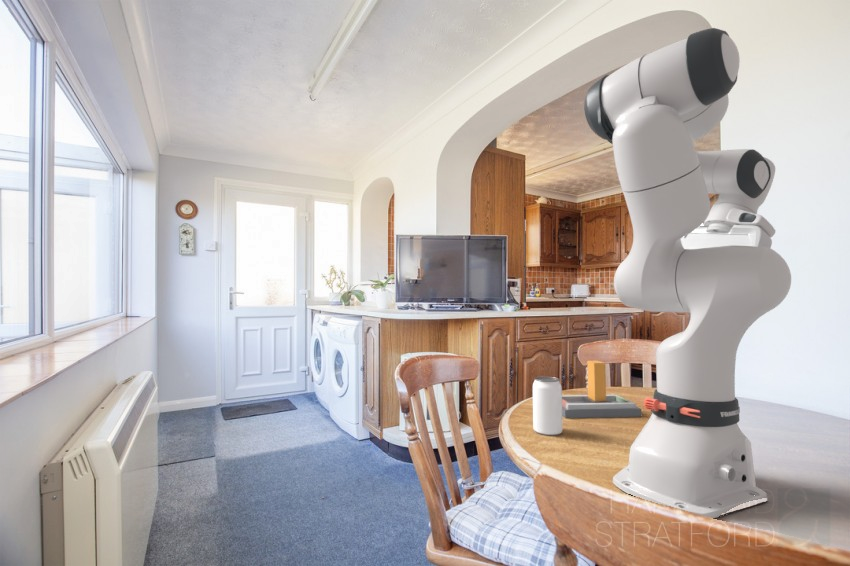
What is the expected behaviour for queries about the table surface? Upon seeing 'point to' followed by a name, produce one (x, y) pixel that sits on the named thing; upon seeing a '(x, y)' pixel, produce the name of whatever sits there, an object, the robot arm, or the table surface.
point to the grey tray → (598, 407)
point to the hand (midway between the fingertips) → (700, 275)
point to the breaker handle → (596, 383)
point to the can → (547, 406)
